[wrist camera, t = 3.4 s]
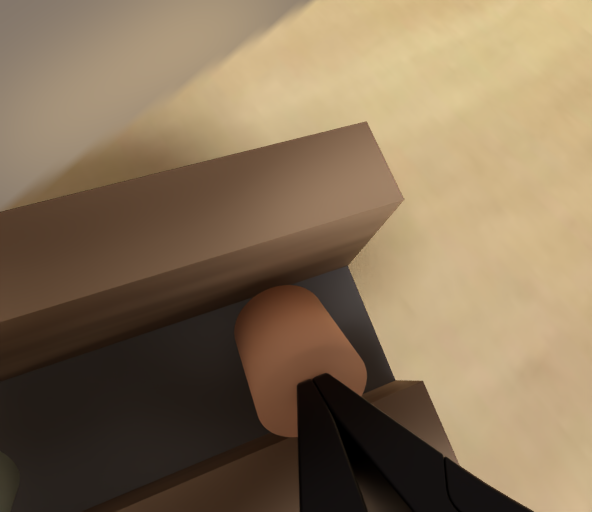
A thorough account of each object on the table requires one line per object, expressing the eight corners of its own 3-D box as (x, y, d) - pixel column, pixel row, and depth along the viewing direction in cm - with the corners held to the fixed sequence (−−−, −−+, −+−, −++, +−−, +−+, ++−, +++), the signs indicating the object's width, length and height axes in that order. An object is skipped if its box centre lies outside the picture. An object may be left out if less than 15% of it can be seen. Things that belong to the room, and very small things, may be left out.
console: (397, 449, 16) (565, 533, 7) (-20, 642, 12) (-598, 1205, 4) (313, 240, 18) (366, 121, 10) (-52, 353, 15) (-445, 321, 7)
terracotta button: (351, 404, 12) (398, 417, 8) (266, 440, 12) (274, 472, 8) (307, 288, 14) (330, 250, 10) (227, 315, 13) (216, 287, 9)
